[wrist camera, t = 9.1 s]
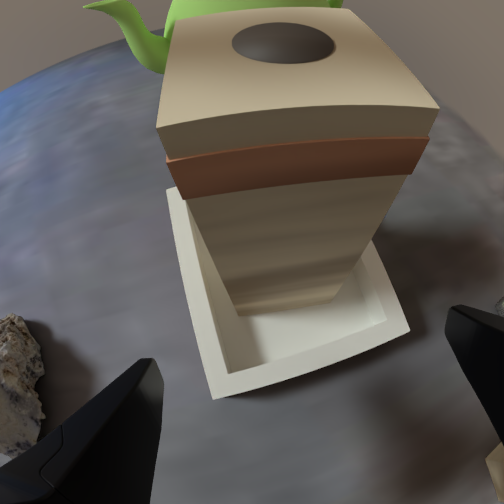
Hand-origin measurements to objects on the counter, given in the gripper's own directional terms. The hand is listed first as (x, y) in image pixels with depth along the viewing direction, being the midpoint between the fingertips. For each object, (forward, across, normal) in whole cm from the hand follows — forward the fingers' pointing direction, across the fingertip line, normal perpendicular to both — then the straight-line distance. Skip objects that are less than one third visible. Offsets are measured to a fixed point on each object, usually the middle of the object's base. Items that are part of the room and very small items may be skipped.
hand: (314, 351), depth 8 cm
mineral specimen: (+5, +19, +7) cm, 21 cm away
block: (+9, 0, +1) cm, 9 cm away
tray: (+10, 0, +2) cm, 10 cm away
